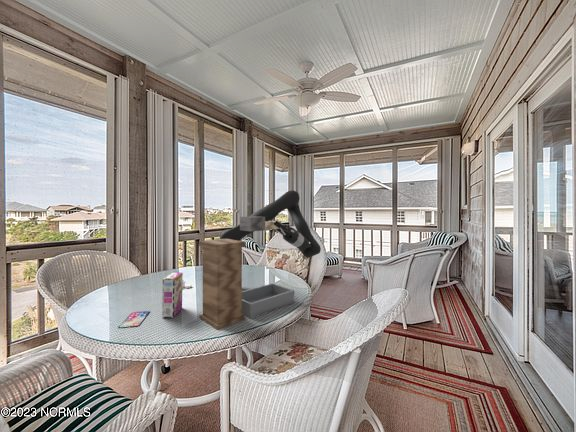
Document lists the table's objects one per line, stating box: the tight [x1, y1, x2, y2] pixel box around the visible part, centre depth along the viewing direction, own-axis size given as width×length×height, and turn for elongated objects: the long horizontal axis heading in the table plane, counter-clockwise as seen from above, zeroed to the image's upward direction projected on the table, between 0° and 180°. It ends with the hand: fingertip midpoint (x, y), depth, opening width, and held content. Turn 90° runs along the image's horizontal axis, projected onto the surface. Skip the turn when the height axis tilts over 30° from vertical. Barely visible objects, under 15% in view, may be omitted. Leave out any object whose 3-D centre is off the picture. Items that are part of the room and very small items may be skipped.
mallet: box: [239, 215, 282, 232], centre depth 122 cm, size 20×8×6 cm, turn 134°
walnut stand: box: [198, 238, 246, 330], centre depth 107 cm, size 13×14×32 cm
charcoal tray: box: [242, 283, 295, 319], centre depth 123 cm, size 26×16×6 cm, turn 135°
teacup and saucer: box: [182, 279, 193, 290], centre depth 148 cm, size 9×8×4 cm
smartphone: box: [117, 310, 151, 329], centre depth 107 cm, size 8×1×15 cm
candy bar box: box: [161, 272, 184, 319], centre depth 113 cm, size 11×5×16 cm, turn 5°
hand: (272, 222), depth 125 cm, fingers closed on mallet, 3 cm apart
